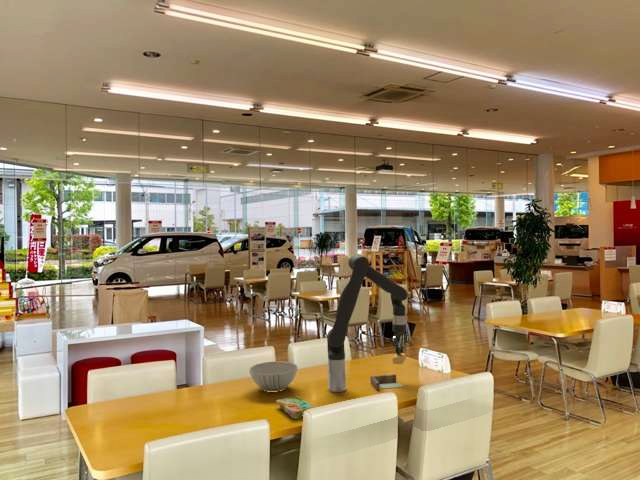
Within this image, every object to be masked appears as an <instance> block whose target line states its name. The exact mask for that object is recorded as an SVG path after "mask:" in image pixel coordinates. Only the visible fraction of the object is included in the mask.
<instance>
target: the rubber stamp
mask: <svg viewBox="0 0 640 480" xmlns="http://www.w3.org/2000/svg"><path fill="white" fill-rule="evenodd" d="M397 342H399V341H397ZM397 344H398V343H397ZM399 348H400V350H401V348H402V342H401V343H400V347H399ZM406 355H407V354H406V353H404V352H403V353H400V354H396V353H395V354H393V356H392V364H394V365H404V363H405V361H406V360H407V359H406V358H407V357H406Z"/></svg>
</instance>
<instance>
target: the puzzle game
mask: <svg viewBox="0 0 640 480" xmlns="http://www.w3.org/2000/svg"><path fill="white" fill-rule="evenodd" d="M275 401H276V404H277V405H278V406H279V407H280V409H281V408H282V409H283V410H284V411H283V410H282V409H281V410H282V411H283V412H284V413H286V414H287V413H288V414H289V415H288V414H287V415H288V416H290V417H291V418H292V419H293V418H295V417H301V418H303V417H302V415H303V412H304V411H305V410H307V409H310V408H315V407H314V406H313V405H312V404H310V403H309V402H307V401H306V400H304V399H303V398H301V397H300V396H298V395H295V396H293V397H292V396H291V397H287V398H282V399H281V398H280V399H277V400H275Z"/></svg>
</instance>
